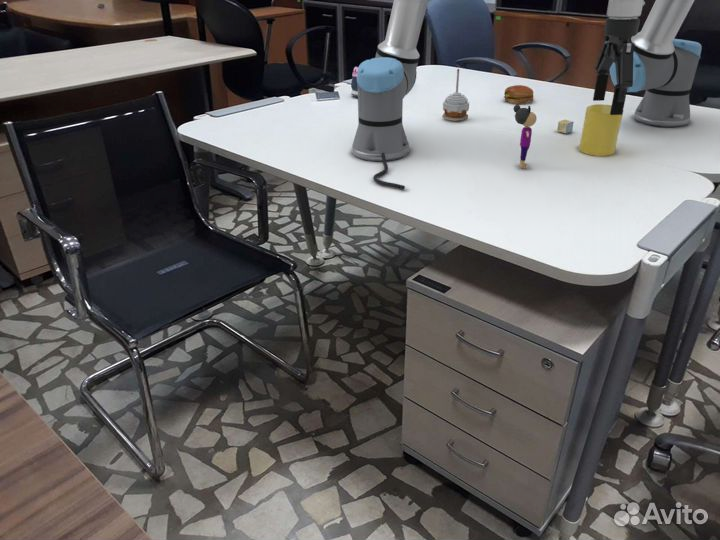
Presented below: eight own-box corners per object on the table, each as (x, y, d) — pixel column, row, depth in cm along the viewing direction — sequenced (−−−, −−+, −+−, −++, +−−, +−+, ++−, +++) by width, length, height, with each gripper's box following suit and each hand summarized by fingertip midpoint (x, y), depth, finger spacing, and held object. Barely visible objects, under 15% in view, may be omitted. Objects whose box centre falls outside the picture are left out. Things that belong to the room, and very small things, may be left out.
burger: (537, 99, 196) (538, 85, 194) (525, 105, 190) (527, 91, 188) (510, 95, 202) (511, 82, 199) (498, 101, 195) (499, 87, 193)
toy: (530, 174, 138) (539, 113, 130) (507, 173, 139) (514, 112, 131) (528, 159, 147) (536, 101, 139) (506, 158, 148) (513, 100, 140)
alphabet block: (565, 133, 164) (567, 123, 162) (556, 131, 166) (558, 121, 164) (572, 131, 165) (574, 121, 164) (563, 129, 168) (565, 119, 166)
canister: (572, 146, 155) (579, 106, 149) (601, 143, 157) (609, 103, 151) (591, 157, 147) (600, 115, 142) (621, 153, 149) (631, 111, 144)
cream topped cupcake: (469, 115, 182) (472, 66, 174) (466, 122, 175) (469, 72, 168) (444, 114, 184) (447, 66, 176) (441, 121, 177) (443, 71, 169)
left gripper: (661, 24, 124) (640, 120, 135) (620, 10, 146) (605, 94, 157) (626, 25, 125) (608, 121, 136) (591, 11, 146) (578, 95, 157)
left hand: (606, 107), depth 146 cm, fingers open, 13 cm apart
